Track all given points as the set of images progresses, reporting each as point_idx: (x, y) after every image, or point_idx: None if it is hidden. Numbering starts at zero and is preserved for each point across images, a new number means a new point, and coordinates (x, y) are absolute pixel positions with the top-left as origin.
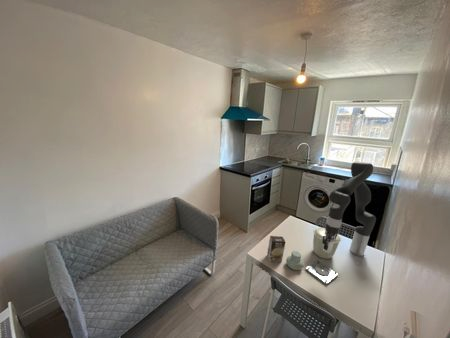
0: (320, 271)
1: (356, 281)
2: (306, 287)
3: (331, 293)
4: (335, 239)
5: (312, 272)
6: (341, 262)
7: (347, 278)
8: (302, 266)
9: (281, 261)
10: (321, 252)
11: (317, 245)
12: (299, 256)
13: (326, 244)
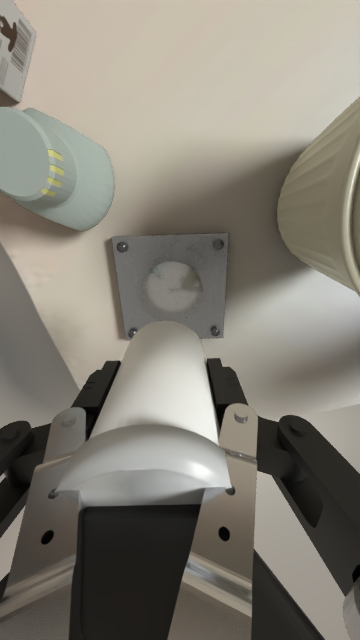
0: (155, 295)
1: (255, 378)
2: (39, 302)
3: None
4: (286, 480)
5: (118, 274)
6: (331, 300)
7: (242, 357)
8: (78, 229)
9: (15, 100)
10: (286, 224)
11: (306, 177)
12: (17, 196)
13: (12, 486)
